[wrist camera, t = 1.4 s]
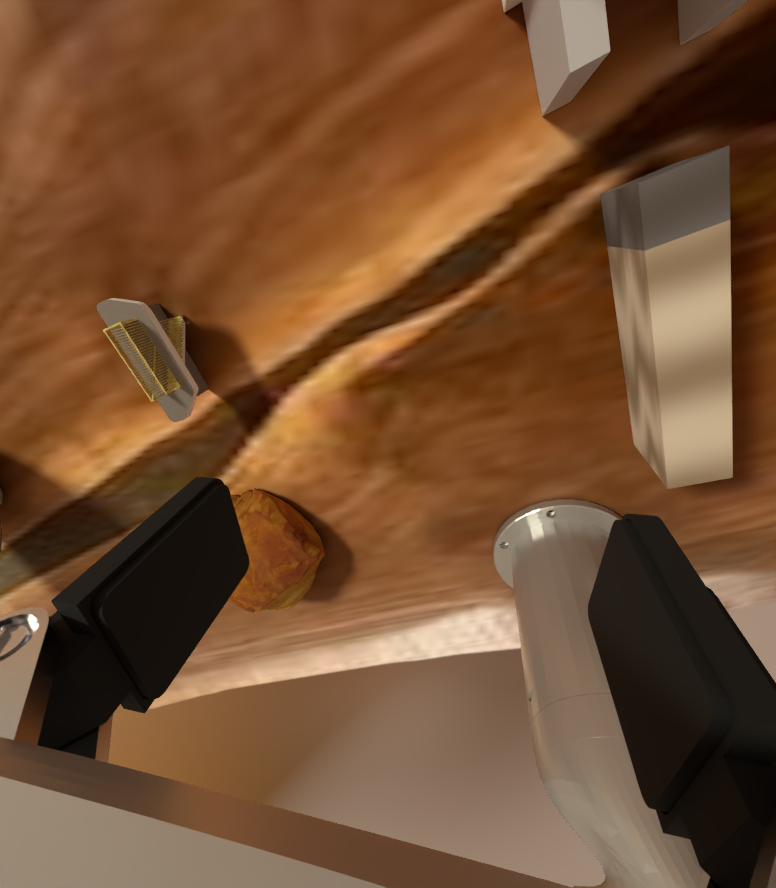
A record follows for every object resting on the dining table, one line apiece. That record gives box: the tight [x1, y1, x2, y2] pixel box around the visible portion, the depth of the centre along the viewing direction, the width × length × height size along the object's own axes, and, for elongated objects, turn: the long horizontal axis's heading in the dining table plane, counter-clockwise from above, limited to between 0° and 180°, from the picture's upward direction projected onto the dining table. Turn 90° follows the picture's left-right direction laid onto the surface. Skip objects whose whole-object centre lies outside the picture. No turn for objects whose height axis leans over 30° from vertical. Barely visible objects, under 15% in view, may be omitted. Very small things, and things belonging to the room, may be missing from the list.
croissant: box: [228, 488, 325, 612], centre depth 41 cm, size 14×16×8 cm
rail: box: [600, 145, 733, 489], centre depth 23 cm, size 18×4×6 cm, turn 22°
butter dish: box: [97, 298, 209, 422], centre depth 30 cm, size 12×18×7 cm, turn 21°
